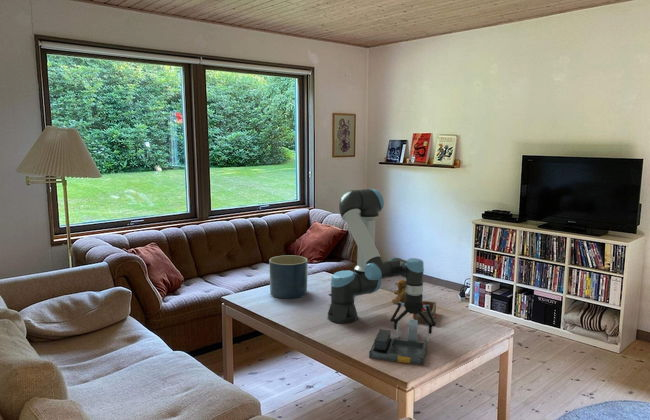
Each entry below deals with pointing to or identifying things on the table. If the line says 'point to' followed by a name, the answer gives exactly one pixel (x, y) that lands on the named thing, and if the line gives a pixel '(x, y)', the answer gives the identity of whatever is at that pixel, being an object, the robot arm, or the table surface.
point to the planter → (288, 276)
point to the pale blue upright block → (412, 330)
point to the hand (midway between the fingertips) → (412, 338)
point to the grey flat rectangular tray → (397, 349)
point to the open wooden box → (432, 309)
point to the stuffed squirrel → (400, 292)
